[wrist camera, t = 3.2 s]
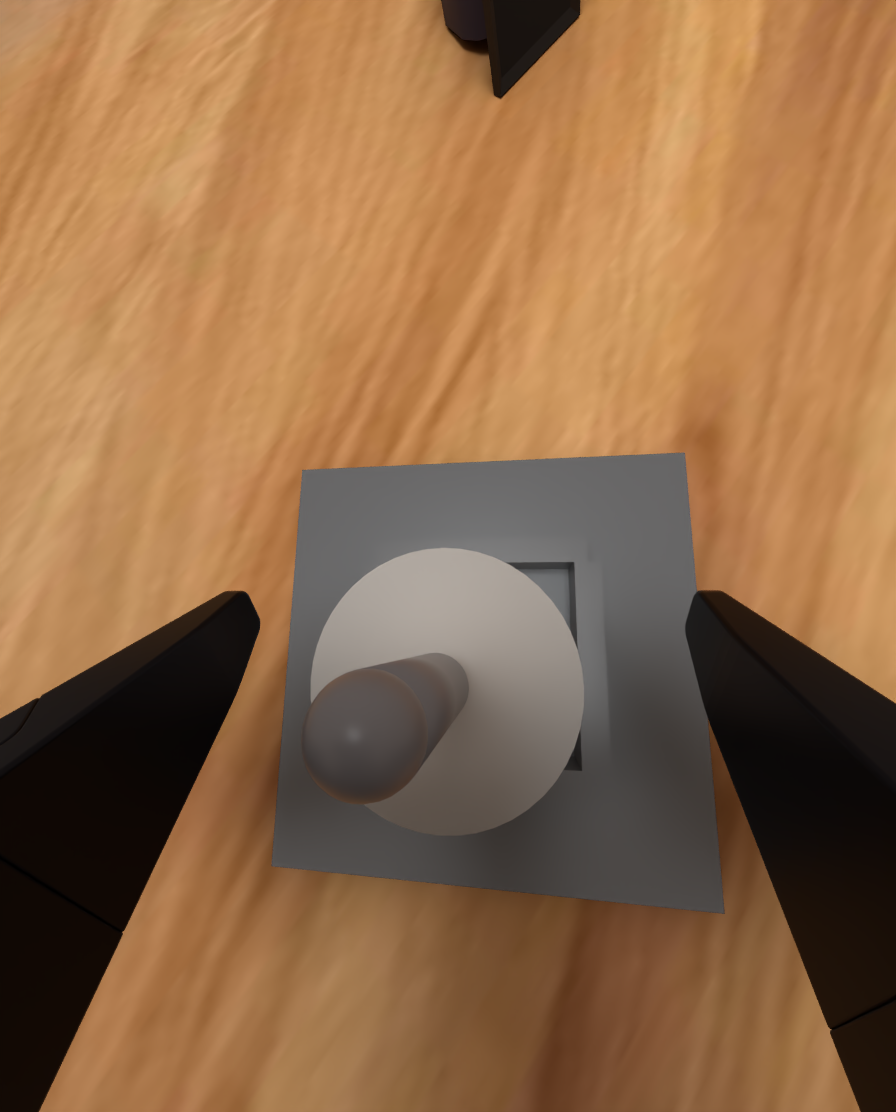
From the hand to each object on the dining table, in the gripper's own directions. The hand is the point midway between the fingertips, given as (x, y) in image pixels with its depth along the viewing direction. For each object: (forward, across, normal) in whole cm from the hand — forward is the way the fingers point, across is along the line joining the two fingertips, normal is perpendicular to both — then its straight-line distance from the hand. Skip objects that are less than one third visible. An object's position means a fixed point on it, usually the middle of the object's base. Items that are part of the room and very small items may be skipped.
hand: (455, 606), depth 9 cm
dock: (+4, 0, +6) cm, 7 cm away
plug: (+4, 0, +5) cm, 6 cm away
